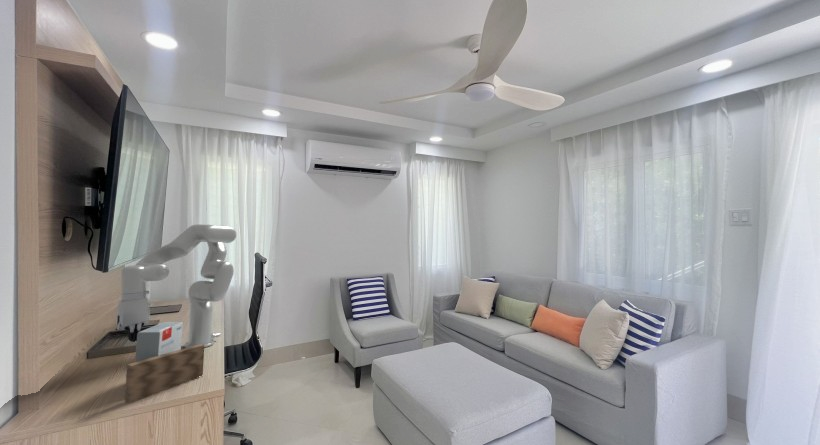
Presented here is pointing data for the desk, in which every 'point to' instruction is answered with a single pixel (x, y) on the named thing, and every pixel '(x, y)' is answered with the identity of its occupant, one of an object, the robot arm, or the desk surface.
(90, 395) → the desk surface
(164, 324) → the hard drive box
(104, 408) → the desk surface
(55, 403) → the desk surface
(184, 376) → the walnut board
